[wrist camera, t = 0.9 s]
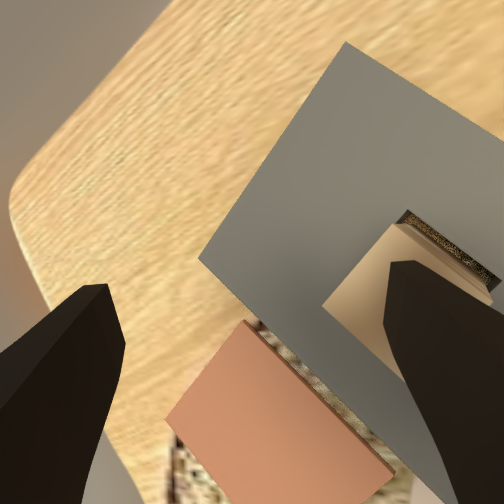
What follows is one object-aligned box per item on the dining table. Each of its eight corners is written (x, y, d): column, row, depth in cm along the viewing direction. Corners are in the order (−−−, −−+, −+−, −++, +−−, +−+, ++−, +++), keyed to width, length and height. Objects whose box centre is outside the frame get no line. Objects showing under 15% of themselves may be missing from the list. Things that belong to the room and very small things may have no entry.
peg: (480, 275, 20) (493, 302, 13) (423, 331, 21) (407, 384, 14) (414, 224, 21) (392, 223, 14) (364, 280, 23) (321, 306, 16)
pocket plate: (754, 316, 16) (802, 331, 14) (486, 513, 21) (489, 548, 18) (356, 59, 22) (345, 41, 20) (219, 255, 27) (197, 258, 25)
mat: (395, 471, 22) (394, 475, 22) (288, 563, 26) (286, 568, 25) (244, 319, 26) (241, 320, 26) (168, 417, 30) (164, 419, 29)
